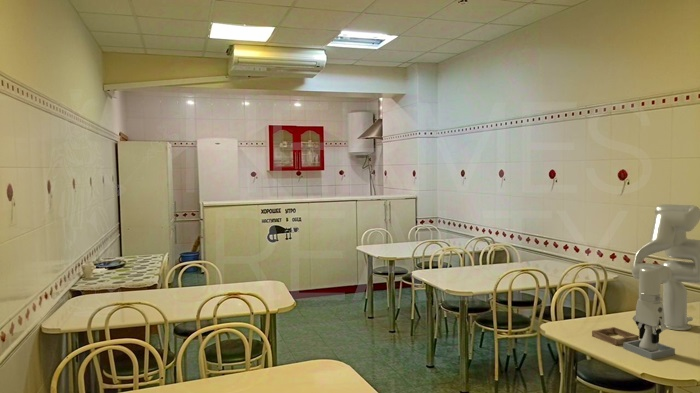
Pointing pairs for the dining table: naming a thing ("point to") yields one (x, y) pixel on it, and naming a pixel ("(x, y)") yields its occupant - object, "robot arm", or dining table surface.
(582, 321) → the dining table surface
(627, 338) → the bin walnut
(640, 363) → the dining table surface
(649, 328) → the flask
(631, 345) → the bin grey
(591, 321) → the dining table surface
